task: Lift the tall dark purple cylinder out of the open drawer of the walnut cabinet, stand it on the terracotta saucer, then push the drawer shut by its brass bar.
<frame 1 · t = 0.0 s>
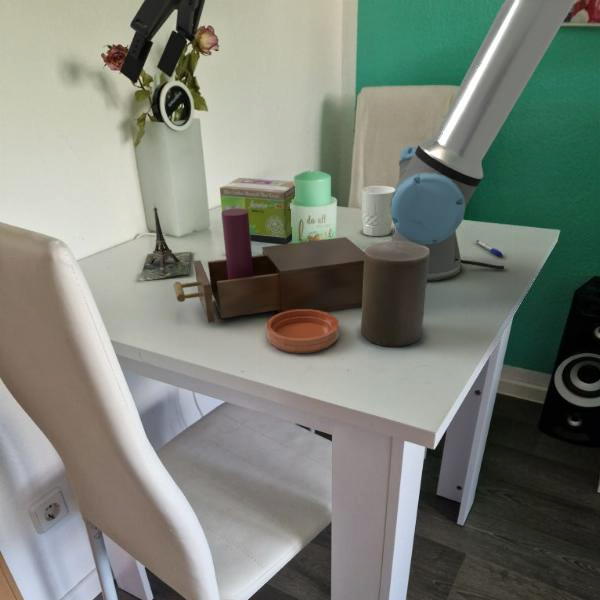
hand: (147, 74, 93), 36 cm above the table, tool tilted 35°, fingers open, 13 cm apart
dark purple cylinder: (242, 297, 99), point 2 cm above the table, touching drawer
pillar candle: (391, 334, 90), on the table
drawer: (232, 286, 97), point 4 cm above the table, slide at 11.5 cm, touching dark purple cylinder
ballpoint pen: (488, 250, 122), on the table
cabinet: (316, 297, 103), on the table
white cup: (376, 233, 136), on the table
tea box: (264, 252, 126), on the table
saucer: (302, 337, 90), on the table
eiffel tower figurine: (167, 267, 120), on the table
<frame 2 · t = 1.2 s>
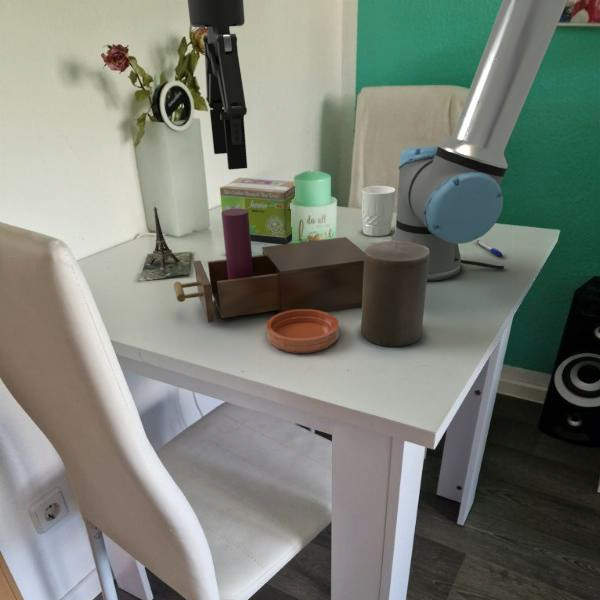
hand: (229, 160, 87), 25 cm above the table, tool pointing down, fingers open, 13 cm apart
nothing on the table moved.
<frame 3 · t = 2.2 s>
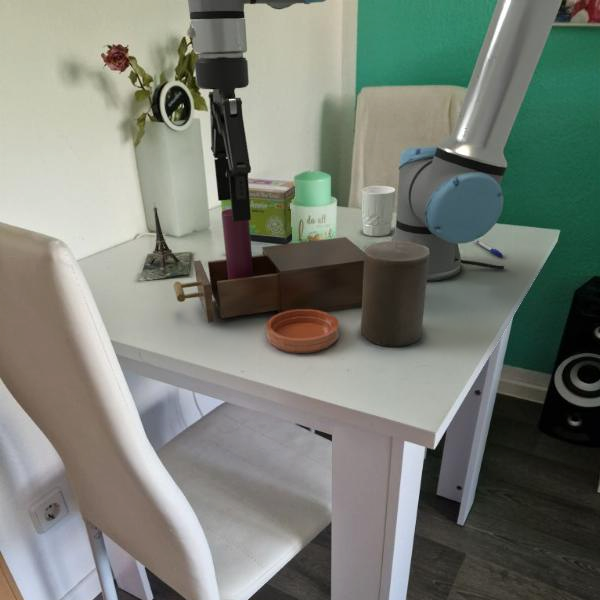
hand: (233, 209, 91), 17 cm above the table, tool pointing down, fingers open, 13 cm apart
nothing on the table moved.
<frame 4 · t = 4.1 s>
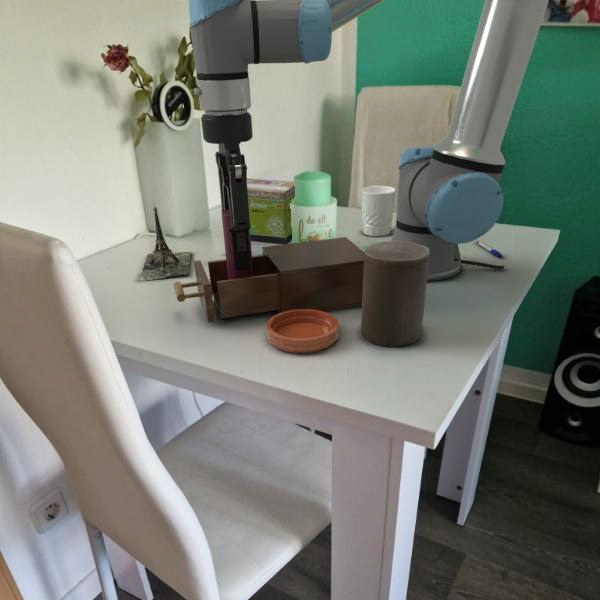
hand: (239, 263, 96), 8 cm above the table, tool pointing down, fingers closed on dark purple cylinder, 4 cm apart
dark purple cylinder: (242, 297, 99), point 2 cm above the table, touching drawer, gripper
everything else where it was.
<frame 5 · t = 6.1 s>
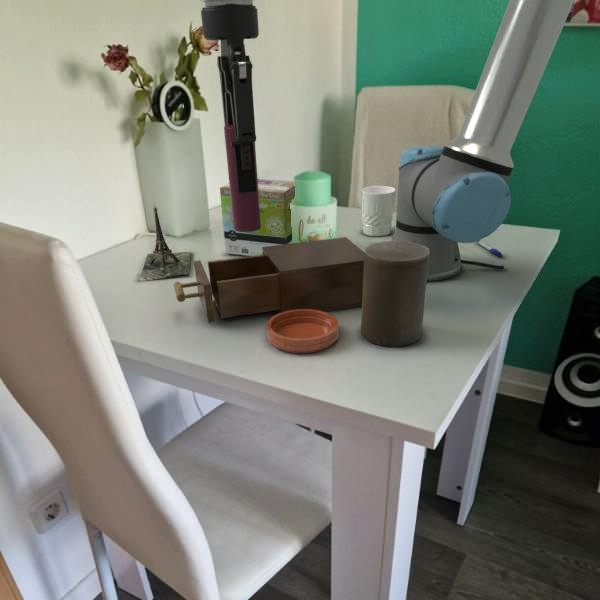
hand: (244, 187, 87), 21 cm above the table, tool pointing down, fingers closed on dark purple cylinder, 4 cm apart
dark purple cylinder: (247, 228, 90), point 15 cm above the table, touching gripper
drawer: (232, 286, 97), point 4 cm above the table, slide at 11.5 cm
everything else where it was.
when the fingers open (7 cm above the table, at t = 9.7 s): dark purple cylinder stays where it is, resting on saucer.
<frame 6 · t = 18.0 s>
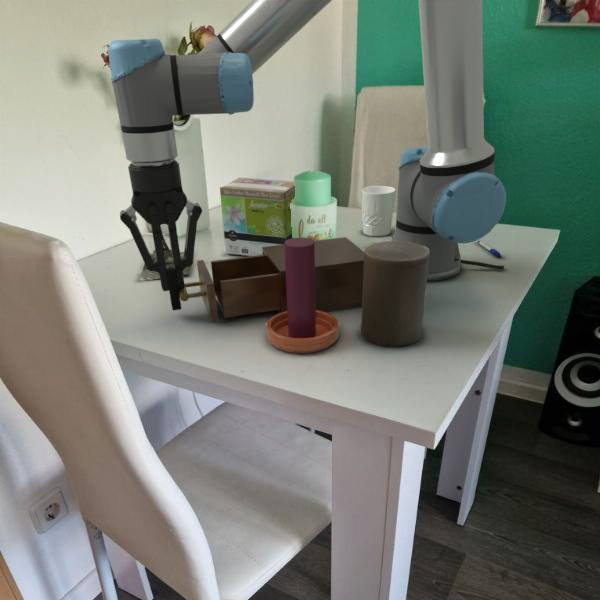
hand: (176, 306, 96), 2 cm above the table, tool pointing down, fingers closed
dark purple cylinder: (302, 334, 89), point 1 cm above the table, touching saucer
drawer: (235, 286, 98), point 4 cm above the table, slide at 11.0 cm, touching gripper
everything else where it was.
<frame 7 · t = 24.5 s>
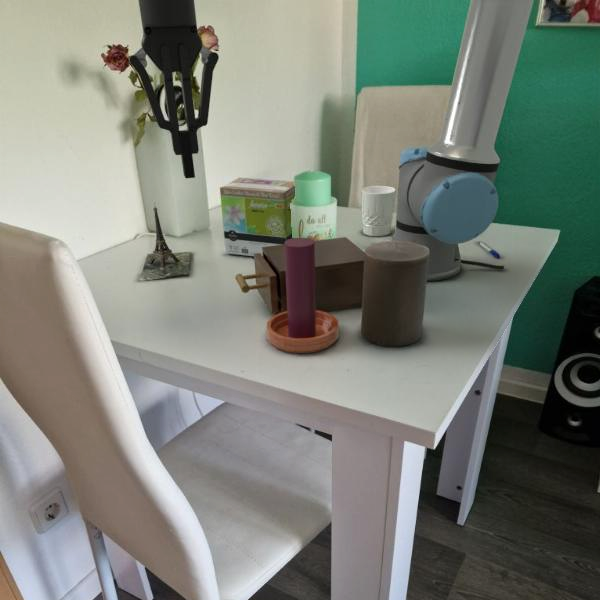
hand: (189, 176, 89), 22 cm above the table, tool pointing down, fingers closed
drawer: (292, 278, 100), point 4 cm above the table, slide at 0.5 cm
everything else where it was.
at the end: dark purple cylinder 0.1 cm off-centre in the saucer, point 0.6 cm above the saucer's base; dark purple cylinder tilted 0°; drawer slide at 0.5 cm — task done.
